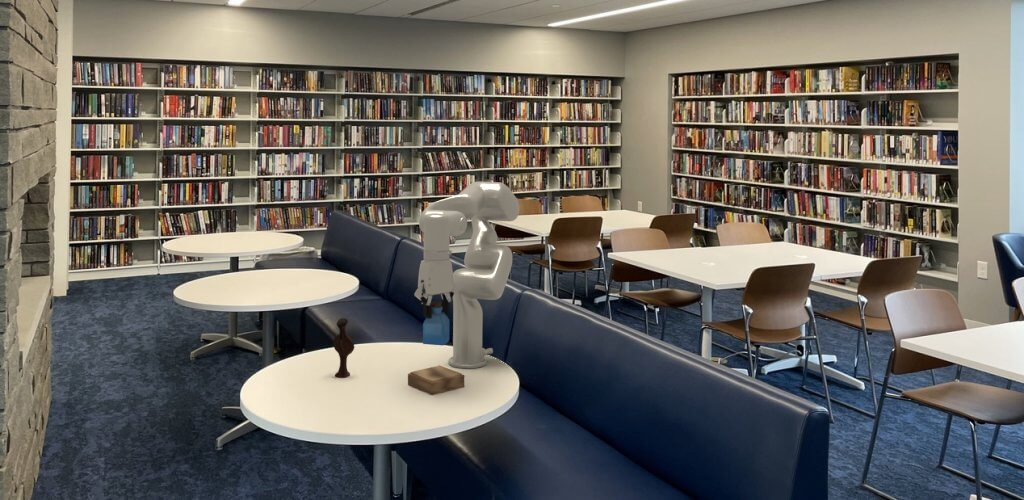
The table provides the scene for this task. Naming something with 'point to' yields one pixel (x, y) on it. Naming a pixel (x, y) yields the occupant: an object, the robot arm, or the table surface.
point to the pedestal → (435, 380)
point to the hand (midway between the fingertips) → (436, 315)
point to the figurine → (343, 348)
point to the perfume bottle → (436, 326)
